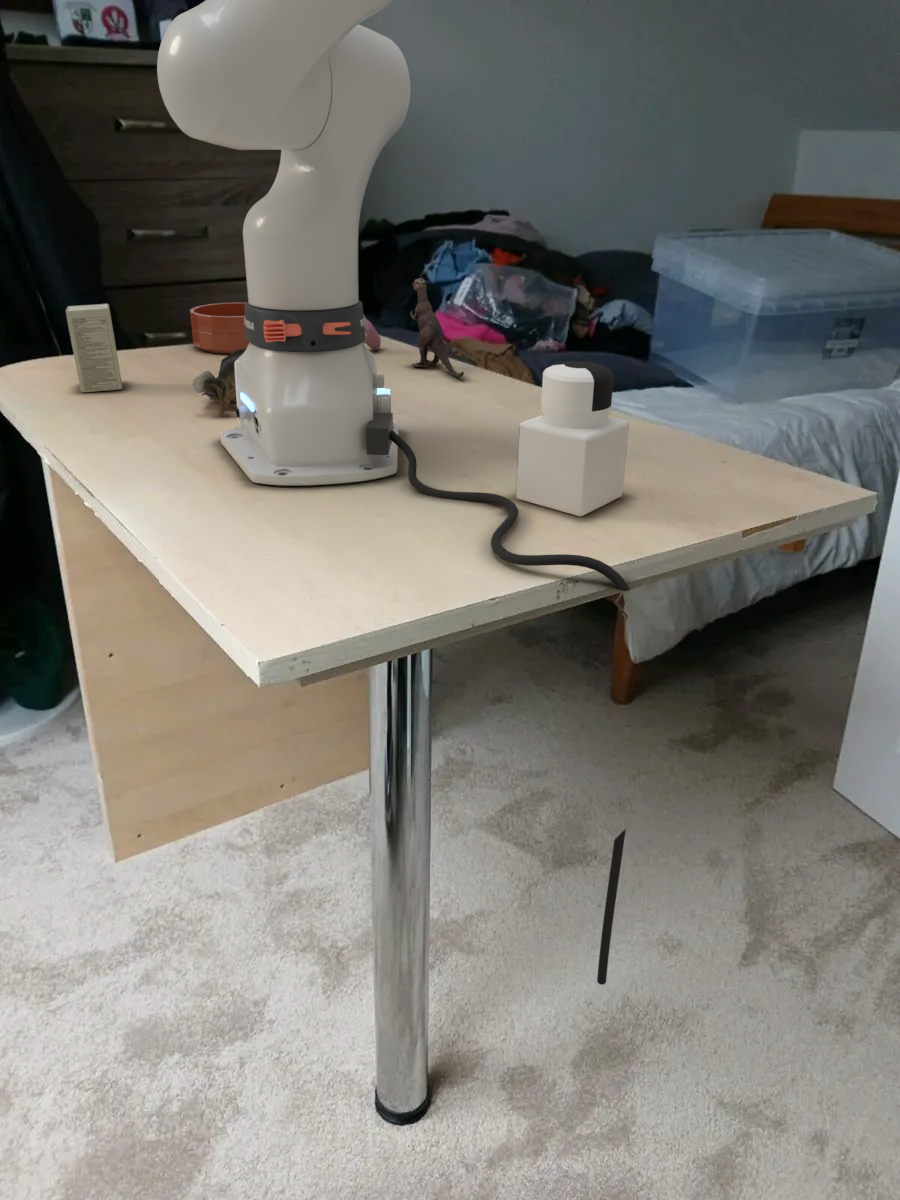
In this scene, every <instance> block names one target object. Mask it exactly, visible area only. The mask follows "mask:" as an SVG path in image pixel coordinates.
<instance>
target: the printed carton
mask: <svg viewBox="0 0 900 1200" xmlns="http://www.w3.org/2000/svg"><path fill="white" fill-rule="evenodd" d="M65 315H66V321H67V326H68V332H69V336H70V342H71V347H72V352H73V358H74V362H75V363H74V364H75V368H76V374H77V378H78V384H79V388H80V393H93V392H102V391H104V392H105V391H115V390H123V382H122V374H121V369H120V364H119V357H118V351H117V345H116V339H115V333H114V327H113V322H112V315H111V310H110V304H109V303H100V304H99V303H98V304H81V305H68V306H67V307H66V309H65Z"/></svg>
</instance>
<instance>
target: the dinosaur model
mask: <svg viewBox="0 0 900 1200" xmlns="http://www.w3.org/2000/svg"><path fill="white" fill-rule="evenodd" d="M412 287H413V290H414V291H415V292H416V294H417V305H416V306H415V309H414V313H413V310H411V311H410V312H409V315H410V317H411V319H412V320H414V321H416V322H417V325H418V329H419V336H418V350H419V354H420V359H419V362H416V363H411V367H419V366H420V367H425V366H428V365H434V366H435V367H436V366H437V365H438V364H439V363H440V362H441V364H442V365H443V366H444V367H445V369H446V371H448V372H449V374H451V375H452V376H453V377H454V378H462V377H464V375H465V372H464V370H463V371H461V372H459V373H458V372H457V371H456V370H455V368H454V367H453V365H452V363H451V361H450V358H449V354H448V352H447V349H446V344H445V340H444V330H443V328H442V325H441V322H440V320H439V318H438V317H437V314H436V313H435V312H434V310H433V306H432V304H431V302H430V300H429V299H428V293H427V284H426V281H425V279H424V278H423V277H418V278H416V279H414V281H413V283H412ZM429 350H432V351H433V355H434V356H433V359H432V360H429V359H428V354H429Z"/></svg>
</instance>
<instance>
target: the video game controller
mask: <svg viewBox="0 0 900 1200" xmlns="http://www.w3.org/2000/svg"><path fill="white" fill-rule="evenodd" d="M364 328H365V340H364V341H363V344H364V345H366V346H367V347H369V348H370V349H372V350H373V351H377V350H379V349H380V348H381V343H382V340H381V336H380V334H379V333H378V331H377V330H376V328H375V327H374V326H373V324H372V323H371V321H370V320H368V319H367V317H365V325H364Z"/></svg>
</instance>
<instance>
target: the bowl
mask: <svg viewBox="0 0 900 1200" xmlns="http://www.w3.org/2000/svg"><path fill="white" fill-rule="evenodd" d="M246 303H247V302H220V303H208V304H203V305H197V306H195V307H192V308H190V309H189V314H190V325H191V333H192V343H193V346H195V347H197V348H199V349H200V350H202V351H205V352H208V353H213V354H225V355H227V354H228V355H230V354H232V353H233V352H235V351H236V350H238V349H247V347H248V345H249V341H248V340H247V338H246V326H245V324H244V316H245V304H246Z"/></svg>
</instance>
